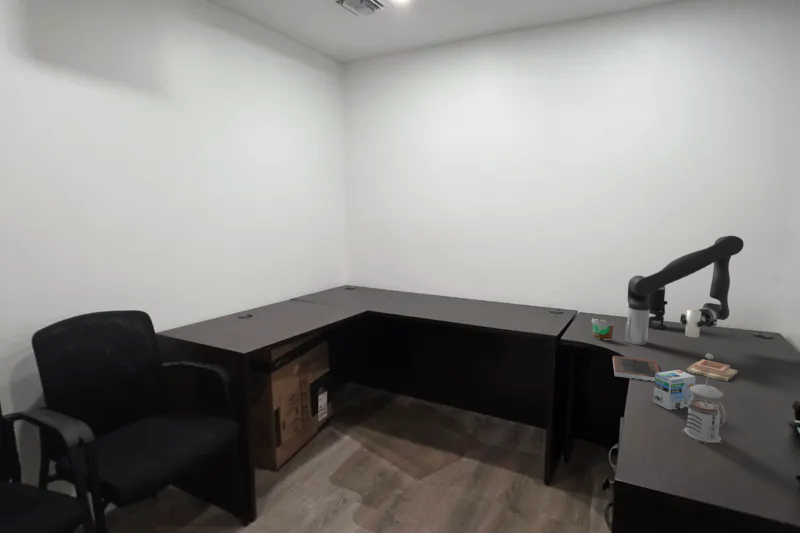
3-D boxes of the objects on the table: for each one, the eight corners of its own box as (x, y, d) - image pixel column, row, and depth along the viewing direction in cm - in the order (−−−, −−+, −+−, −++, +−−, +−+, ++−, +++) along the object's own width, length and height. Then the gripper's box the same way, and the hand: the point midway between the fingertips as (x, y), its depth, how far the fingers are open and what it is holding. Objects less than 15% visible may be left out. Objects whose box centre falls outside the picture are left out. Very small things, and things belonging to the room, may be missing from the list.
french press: (706, 427, 135) (713, 348, 132) (736, 447, 124) (745, 361, 120) (674, 427, 135) (681, 348, 132) (701, 448, 123) (710, 362, 120)
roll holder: (686, 371, 181) (686, 363, 180) (697, 363, 190) (698, 356, 189) (727, 381, 170) (727, 373, 170) (737, 373, 179) (738, 365, 179)
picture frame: (662, 383, 170) (655, 365, 189) (662, 377, 169) (655, 360, 189) (614, 377, 176) (612, 360, 196) (614, 371, 176) (613, 355, 196)
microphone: (661, 324, 254) (665, 272, 250) (671, 330, 242) (676, 276, 238) (637, 323, 256) (641, 272, 252) (647, 329, 244) (651, 275, 240)
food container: (585, 336, 231) (586, 317, 230) (593, 334, 233) (594, 316, 232) (605, 342, 220) (606, 323, 218) (613, 341, 222) (615, 321, 221)
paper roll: (683, 335, 190) (685, 310, 189) (687, 333, 194) (689, 308, 192) (696, 338, 187) (699, 312, 185) (700, 336, 190) (702, 311, 188)
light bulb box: (668, 410, 146) (671, 379, 145) (652, 402, 152) (654, 372, 151) (693, 406, 149) (696, 376, 148) (676, 398, 155) (679, 369, 154)
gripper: (686, 306, 203) (673, 311, 192) (724, 311, 192) (711, 318, 182) (685, 321, 204) (671, 328, 193) (722, 328, 193) (710, 335, 183)
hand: (691, 323), depth 188 cm, fingers closed on paper roll, 5 cm apart
